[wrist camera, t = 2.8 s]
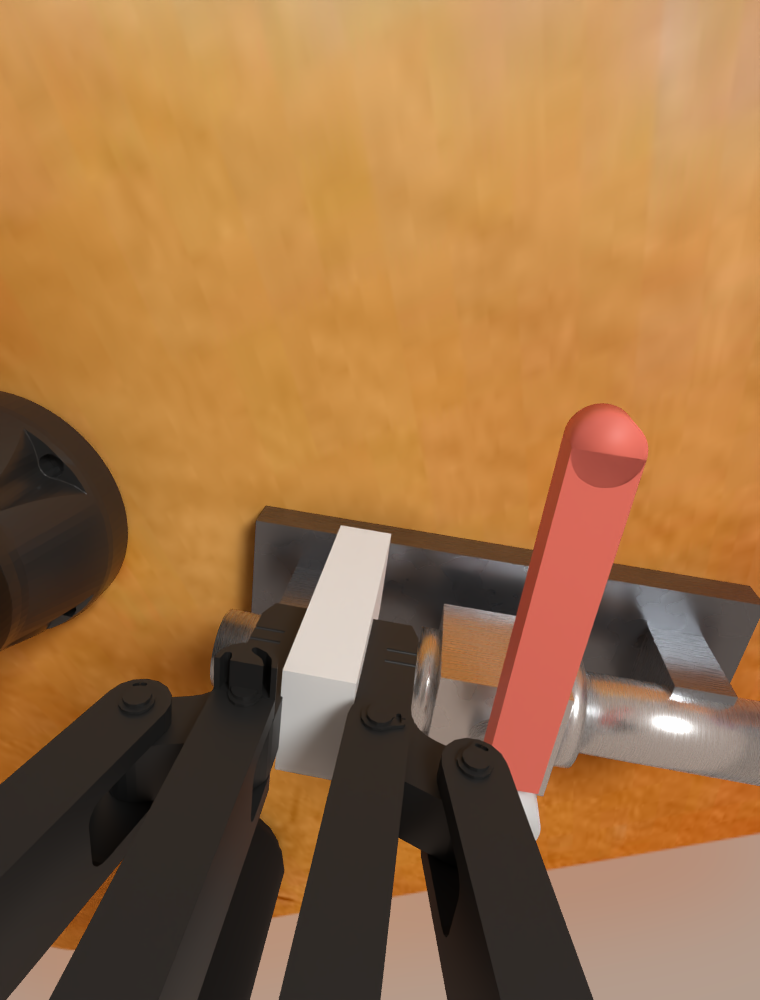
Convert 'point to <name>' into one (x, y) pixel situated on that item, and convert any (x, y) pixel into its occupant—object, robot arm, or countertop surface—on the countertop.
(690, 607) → the valve stand
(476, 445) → the countertop surface
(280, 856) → the coffee jar
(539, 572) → the valve lever
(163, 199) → the countertop surface
